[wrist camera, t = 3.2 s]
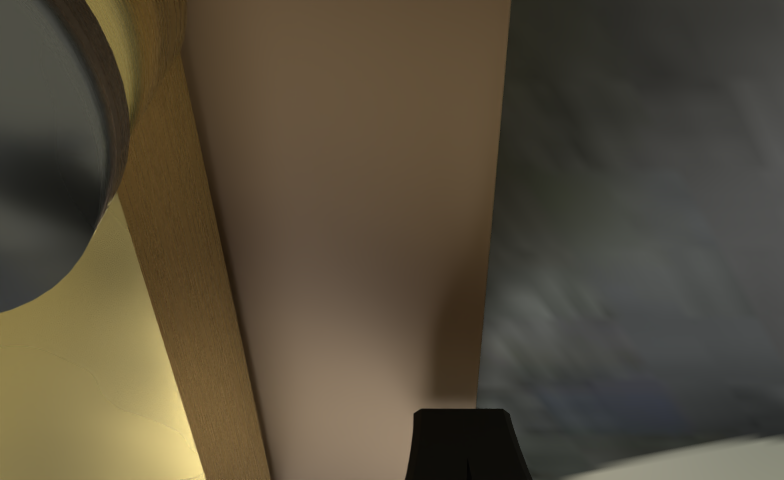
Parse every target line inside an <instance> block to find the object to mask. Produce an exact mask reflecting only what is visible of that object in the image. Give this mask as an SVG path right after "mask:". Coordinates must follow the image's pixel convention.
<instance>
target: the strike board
mask: <svg viewBox="0 0 784 480" xmlns="http://www.w3.org/2000/svg"><path fill="white" fill-rule="evenodd" d="M510 9H511V0H187V23H186V30H185V37H184V41H183V44H182V48H181V51H180V53H181V57H182V62H183V67H184V72H185V76H186V81H187V86H188V91H189V95H190V100H191V105H192V109H193V114H194V119H195V124H196V128H197V133H198V138H199V142H200V147H201V152H202V157H203V161H204V166H205V171H206V176H207V180H208V185H209V190H210V194H211V199H212V204H213V209H214V213H215V218H216V223H217V228H218V232H219V237H220V242H221V246H222V251H223V256H224V261H225V265H226V270H227V275H228V279H229V284H230V289H231V294H232V298H233V303H234V308H235V313H236V317H237V322H238V327H239V331H240V336H241V341H242V346H243V350H244V355H245V360H246V364H247V369H248V374H249V379H250V383H251V388H252V393H253V398H254V402H255V407H256V412H257V416H258V421H259V426H260V431H261V435H262V440H263V445H264V450H265V454H266V459H267V464H268V468H269V473H270V478H271V480H405V477H406V472H407V467H408V462H409V456H410V450H411V442H412V434H413V414H414V413H415V412H416V411H418V410H420V409H421V408H431V409H476V399H477V388H478V376H479V365H480V353H481V342H482V330H483V319H484V307H485V296H486V284H487V273H488V262H489V250H490V239H491V227H492V216H493V204H494V193H495V181H496V170H497V158H498V147H499V135H500V124H501V112H502V101H503V90H504V78H505V67H506V55H507V44H508V32H509V21H510Z"/></svg>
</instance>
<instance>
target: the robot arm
mask: <svg viewBox="0 0 784 480" xmlns="http://www.w3.org/2000/svg"><path fill="white" fill-rule="evenodd" d="M405 480H532V477H531V475H530V473H529V470H528V468H527V465H526V462H525V460H524V457H523V454H522V452H521V449H520V446H519V443H518V440H517V437H516V434H515V431H514V428H513V425H512V421H511V418H510V414H509V413H508V412H506V411H505V410H504V409H431V408H421V409H420V410H418V411H416V412H415V413H414V414H413V434H412V442H411V450H410V456H409V462H408V467H407V472H406V477H405Z"/></svg>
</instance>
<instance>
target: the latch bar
mask: <svg viewBox="0 0 784 480" xmlns="http://www.w3.org/2000/svg"><path fill="white" fill-rule="evenodd" d="M186 23H187V0H0V480H271V478H270V473H269V468H268V464H267V459H266V454H265V450H264V445H263V440H262V435H261V431H260V426H259V421H258V416H257V412H256V407H255V402H254V398H253V393H252V388H251V383H250V379H249V374H248V369H247V364H246V360H245V355H244V350H243V346H242V341H241V336H240V331H239V327H238V322H237V317H236V313H235V308H234V303H233V298H232V294H231V289H230V284H229V279H228V275H227V270H226V265H225V261H224V256H223V251H222V246H221V242H220V237H219V232H218V228H217V223H216V218H215V213H214V209H213V204H212V199H211V194H210V190H209V185H208V180H207V176H206V171H205V166H204V161H203V157H202V152H201V147H200V142H199V138H198V133H197V128H196V124H195V119H194V114H193V109H192V105H191V100H190V95H189V91H188V86H187V81H186V76H185V72H184V67H183V62H182V57H181V53H180V51H181V48H182V44H183V41H184V37H185V30H186Z"/></svg>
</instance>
